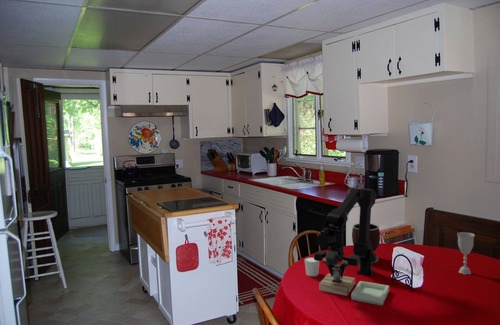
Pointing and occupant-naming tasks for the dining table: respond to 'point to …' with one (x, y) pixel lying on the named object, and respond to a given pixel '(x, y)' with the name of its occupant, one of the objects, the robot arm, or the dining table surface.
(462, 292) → the dining table surface
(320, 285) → the hole block
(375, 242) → the mate gourd
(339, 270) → the pin
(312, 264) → the cup
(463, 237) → the chalice
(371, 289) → the tray
